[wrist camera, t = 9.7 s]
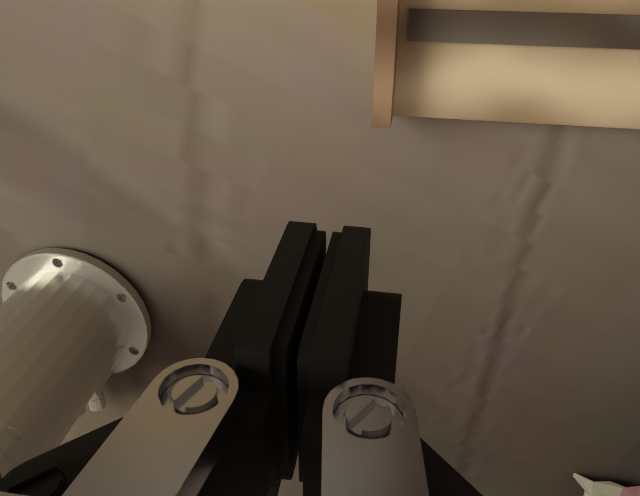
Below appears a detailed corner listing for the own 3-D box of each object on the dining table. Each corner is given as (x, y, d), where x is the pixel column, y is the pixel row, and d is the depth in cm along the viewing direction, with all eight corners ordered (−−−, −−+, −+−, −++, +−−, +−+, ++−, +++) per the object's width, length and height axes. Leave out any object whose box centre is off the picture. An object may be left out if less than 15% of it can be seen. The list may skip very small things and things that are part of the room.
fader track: (779, 124, 33) (817, 152, 29) (378, 103, 36) (371, 126, 33) (867, -85, 27) (926, -79, 24) (387, -87, 31) (381, -82, 27)
